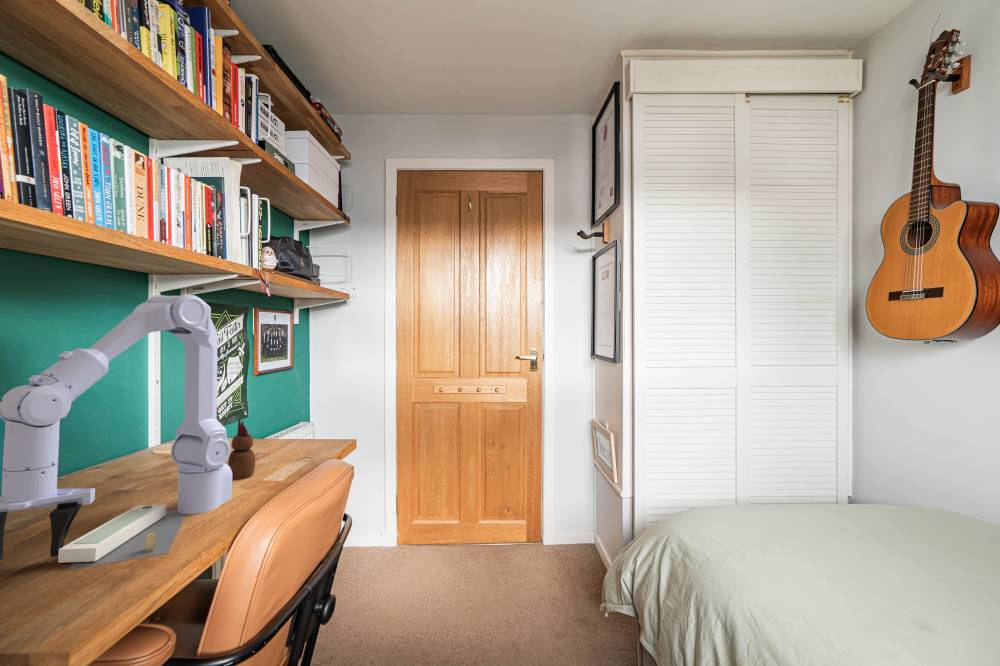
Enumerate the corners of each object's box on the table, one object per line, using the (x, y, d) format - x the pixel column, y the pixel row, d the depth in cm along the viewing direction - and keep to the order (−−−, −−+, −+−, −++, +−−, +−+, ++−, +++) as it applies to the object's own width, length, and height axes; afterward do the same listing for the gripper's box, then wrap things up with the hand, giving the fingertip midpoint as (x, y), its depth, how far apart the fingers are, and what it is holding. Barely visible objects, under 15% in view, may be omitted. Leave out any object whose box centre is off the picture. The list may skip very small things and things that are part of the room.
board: (111, 522, 85) (112, 504, 85) (188, 513, 90) (188, 495, 91) (67, 575, 66) (68, 552, 66) (167, 559, 72) (168, 537, 72)
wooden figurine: (226, 478, 113) (228, 418, 113) (252, 474, 116) (254, 416, 116) (229, 485, 107) (231, 422, 108) (256, 481, 111) (258, 420, 111)
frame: (137, 515, 85) (137, 504, 85) (165, 515, 86) (166, 503, 86) (58, 562, 67) (58, 547, 67) (95, 561, 68) (95, 546, 68)
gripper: (-57, 479, 60) (-63, 581, 60) (85, 468, 67) (80, 560, 67) (-26, 465, 66) (-31, 558, 66) (100, 456, 73) (97, 540, 73)
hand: (26, 557), depth 67 cm, fingers open, 6 cm apart
